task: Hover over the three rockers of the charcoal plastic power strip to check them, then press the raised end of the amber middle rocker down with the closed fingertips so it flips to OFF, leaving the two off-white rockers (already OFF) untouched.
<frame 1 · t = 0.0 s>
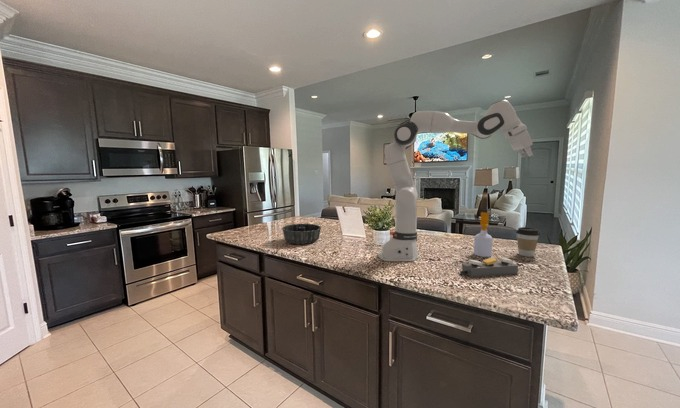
hand: (527, 156, 136), 54 cm above the worktop, tool tilted 30°, fingers open, 8 cm apart
bundt pan: (302, 241, 194), on the worktop
rocker 2: (489, 261, 133), point 6 cm above the worktop, hinge at -12.0°
power strip: (489, 272, 134), on the worktop
rocker 1: (475, 262, 132), point 6 cm above the worktop, hinge at 12.0°
soap bottle: (482, 255, 162), on the worktop
rocker 3: (505, 260, 134), point 6 cm above the worktop, hinge at 12.0°
coffee cup: (526, 255, 162), on the worktop
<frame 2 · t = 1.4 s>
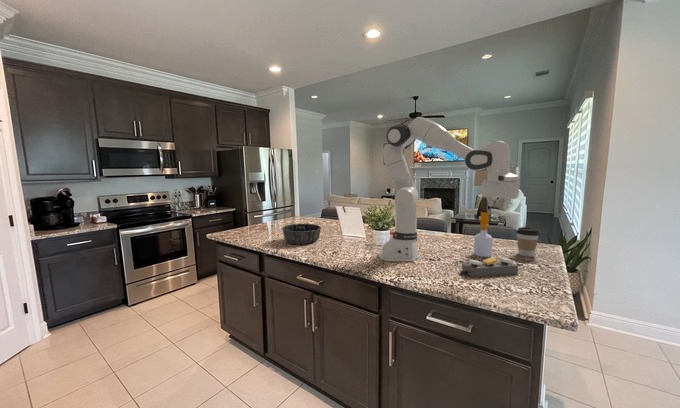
hand: (497, 207, 130), 31 cm above the worktop, tool pointing down, fingers open, 8 cm apart
nothing on the worktop moved.
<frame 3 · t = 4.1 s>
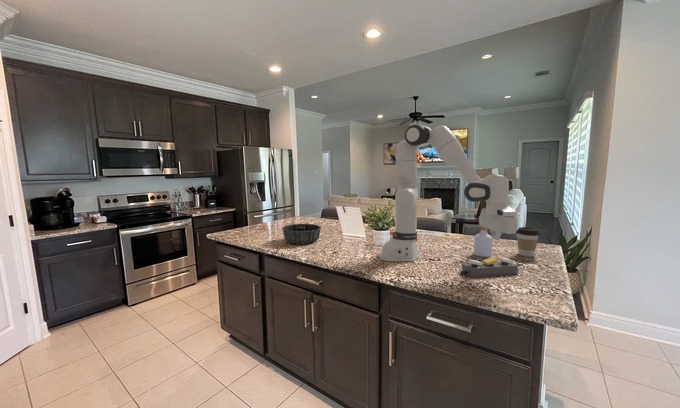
hand: (495, 239, 131), 16 cm above the worktop, tool pointing down, fingers closed
nothing on the worktop moved.
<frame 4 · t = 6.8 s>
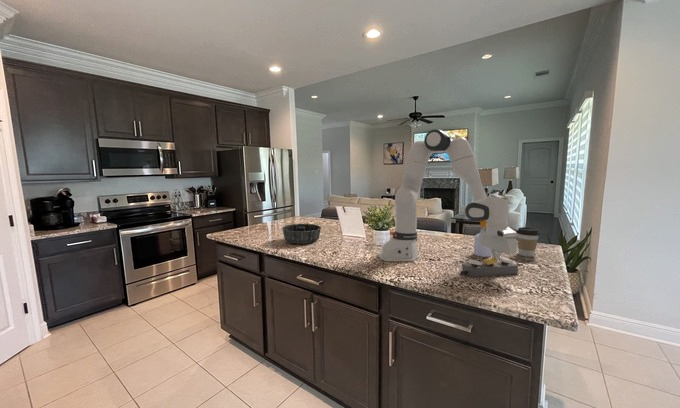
hand: (495, 258, 133), 7 cm above the worktop, tool pointing down, fingers closed, pressing on rocker 2
rocker 2: (489, 261, 133), point 6 cm above the worktop, hinge at -10.0°, touching gripper
everything else where it was.
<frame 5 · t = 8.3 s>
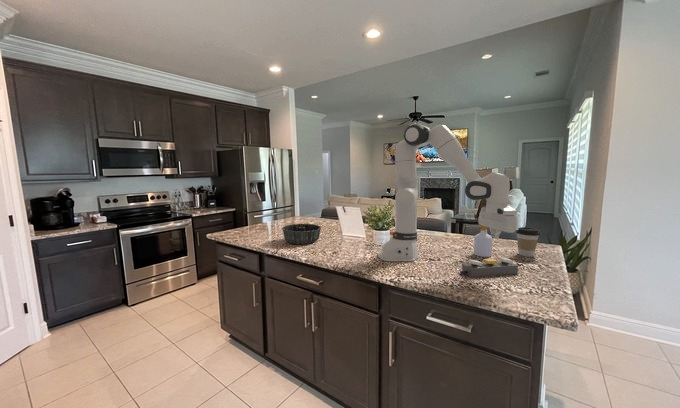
hand: (494, 238, 132), 17 cm above the worktop, tool pointing down, fingers closed
rocker 2: (490, 261, 133), point 6 cm above the worktop, hinge at 2.2°
everything else where it was.
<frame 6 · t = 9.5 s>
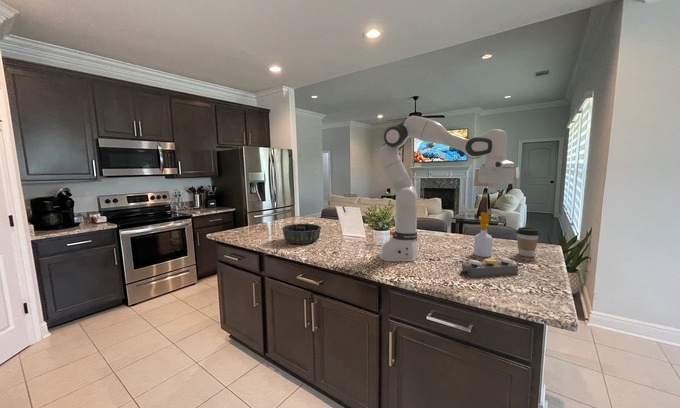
hand: (493, 192, 138), 37 cm above the worktop, tool pointing down, fingers closed
rocker 2: (490, 261, 133), point 6 cm above the worktop, hinge at 5.6°
everything else where it was.
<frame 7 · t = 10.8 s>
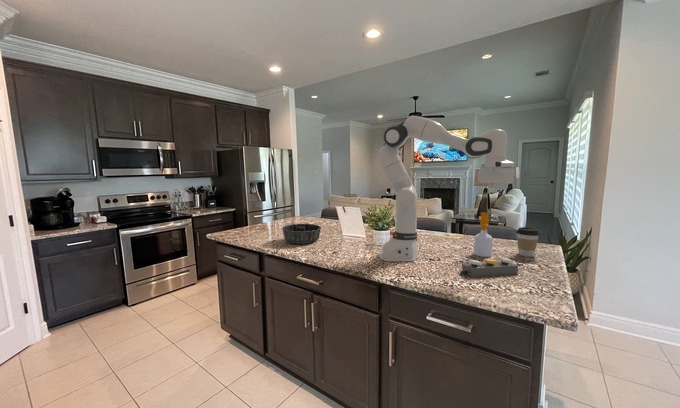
hand: (493, 192, 138), 37 cm above the worktop, tool pointing down, fingers closed
rocker 2: (490, 261, 133), point 6 cm above the worktop, hinge at 7.7°
everything else where it was.
at the end: rocker 2 at +8° (first picture: -12°); rocker 1 at +12° (first picture: +12°); rocker 3 at +12° (first picture: +12°) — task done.
